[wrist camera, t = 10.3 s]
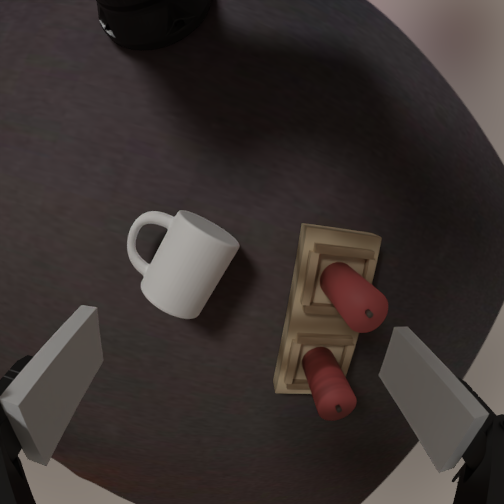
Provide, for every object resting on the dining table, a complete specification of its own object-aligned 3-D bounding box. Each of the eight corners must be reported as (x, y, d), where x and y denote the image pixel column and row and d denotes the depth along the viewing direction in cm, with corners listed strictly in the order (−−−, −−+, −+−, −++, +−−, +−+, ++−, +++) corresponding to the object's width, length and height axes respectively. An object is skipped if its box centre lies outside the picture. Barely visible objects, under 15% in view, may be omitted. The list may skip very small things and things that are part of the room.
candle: (323, 260, 39) (354, 291, 28) (357, 263, 39) (396, 294, 29) (316, 295, 40) (343, 336, 29) (350, 298, 40) (384, 336, 30)
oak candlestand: (301, 223, 40) (334, 248, 27) (372, 233, 41) (427, 260, 28) (273, 381, 46) (285, 446, 33) (334, 382, 47) (362, 442, 34)
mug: (239, 237, 41) (241, 253, 33) (201, 301, 42) (195, 329, 35) (156, 190, 38) (139, 195, 31) (123, 257, 40) (101, 276, 33)
